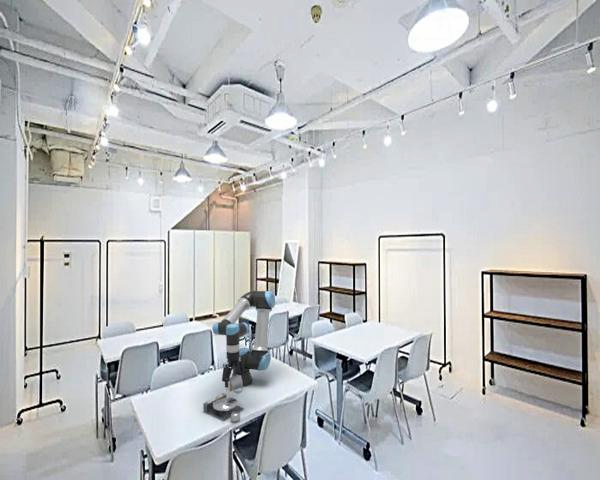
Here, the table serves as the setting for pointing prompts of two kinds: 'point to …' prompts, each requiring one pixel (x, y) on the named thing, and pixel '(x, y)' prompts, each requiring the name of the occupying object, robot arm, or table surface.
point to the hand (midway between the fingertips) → (233, 389)
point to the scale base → (219, 414)
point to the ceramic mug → (236, 383)
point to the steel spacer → (235, 416)
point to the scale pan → (224, 404)
